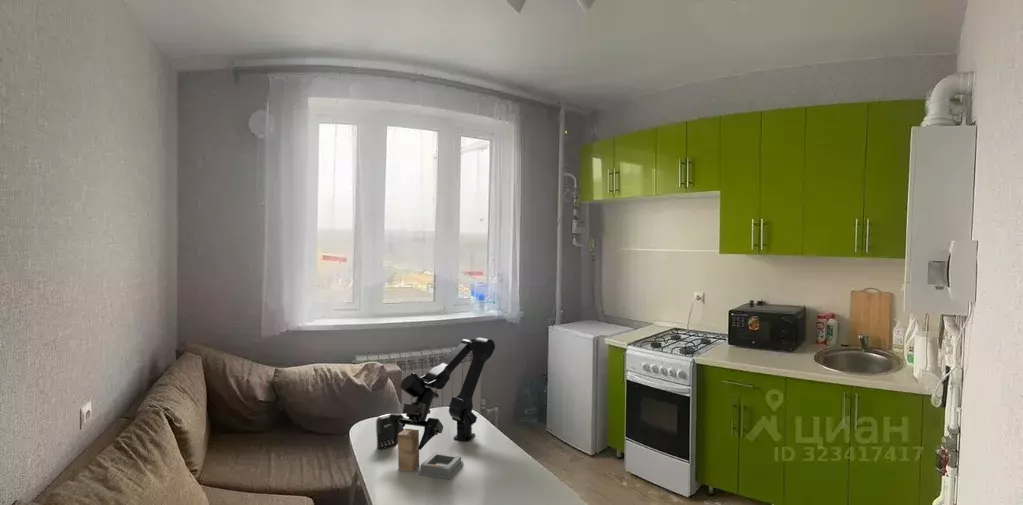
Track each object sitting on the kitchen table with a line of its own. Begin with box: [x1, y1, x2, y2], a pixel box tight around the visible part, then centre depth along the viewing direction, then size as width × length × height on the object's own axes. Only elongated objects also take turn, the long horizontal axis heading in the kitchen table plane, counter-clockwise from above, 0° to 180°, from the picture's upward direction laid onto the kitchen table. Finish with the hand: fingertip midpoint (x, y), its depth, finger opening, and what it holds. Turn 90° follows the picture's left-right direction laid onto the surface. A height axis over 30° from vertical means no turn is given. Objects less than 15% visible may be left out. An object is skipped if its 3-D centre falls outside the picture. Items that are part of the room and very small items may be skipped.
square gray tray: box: [417, 451, 464, 480], centre depth 167 cm, size 11×11×3 cm
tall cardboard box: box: [397, 428, 420, 472], centre depth 168 cm, size 5×5×12 cm
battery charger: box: [375, 413, 394, 450], centre depth 185 cm, size 7×4×11 cm, turn 128°
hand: (407, 447), depth 167 cm, fingers open, 9 cm apart
